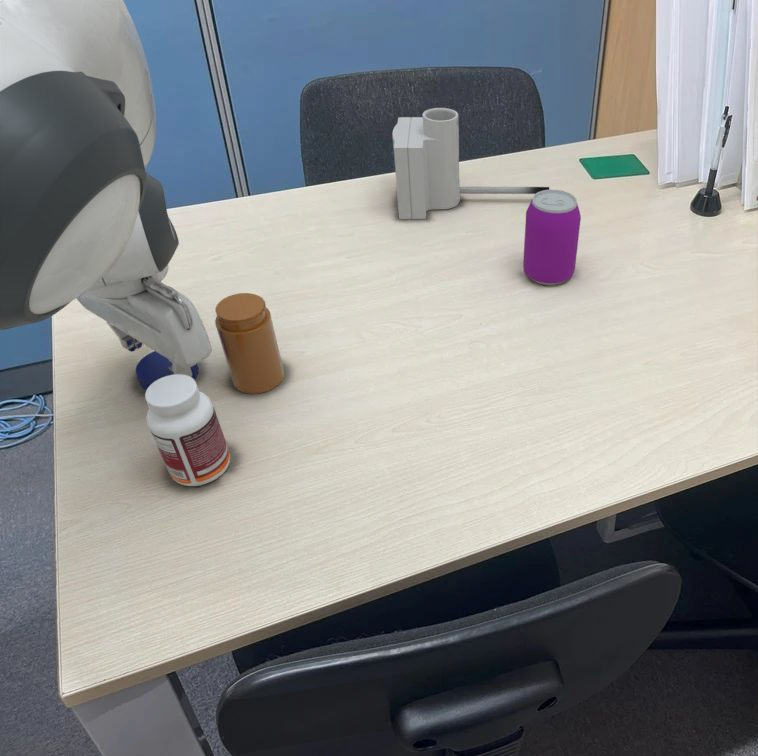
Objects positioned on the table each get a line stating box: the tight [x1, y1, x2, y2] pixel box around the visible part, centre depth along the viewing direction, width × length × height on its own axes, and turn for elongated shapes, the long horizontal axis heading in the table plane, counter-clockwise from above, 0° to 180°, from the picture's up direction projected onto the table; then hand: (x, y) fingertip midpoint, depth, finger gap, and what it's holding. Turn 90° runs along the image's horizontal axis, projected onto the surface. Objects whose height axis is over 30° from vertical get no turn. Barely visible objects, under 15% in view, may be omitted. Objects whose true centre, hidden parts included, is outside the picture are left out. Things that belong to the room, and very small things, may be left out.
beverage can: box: [522, 189, 582, 286], centre depth 101 cm, size 8×8×12 cm
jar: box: [214, 292, 285, 395], centre depth 82 cm, size 6×6×11 cm
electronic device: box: [392, 107, 550, 220], centre depth 116 cm, size 12×26×15 cm, turn 93°
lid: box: [135, 350, 199, 391], centre depth 84 cm, size 7×7×2 cm
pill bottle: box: [144, 374, 231, 487], centre depth 71 cm, size 6×6×11 cm
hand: (157, 362), depth 83 cm, fingers open, 8 cm apart
